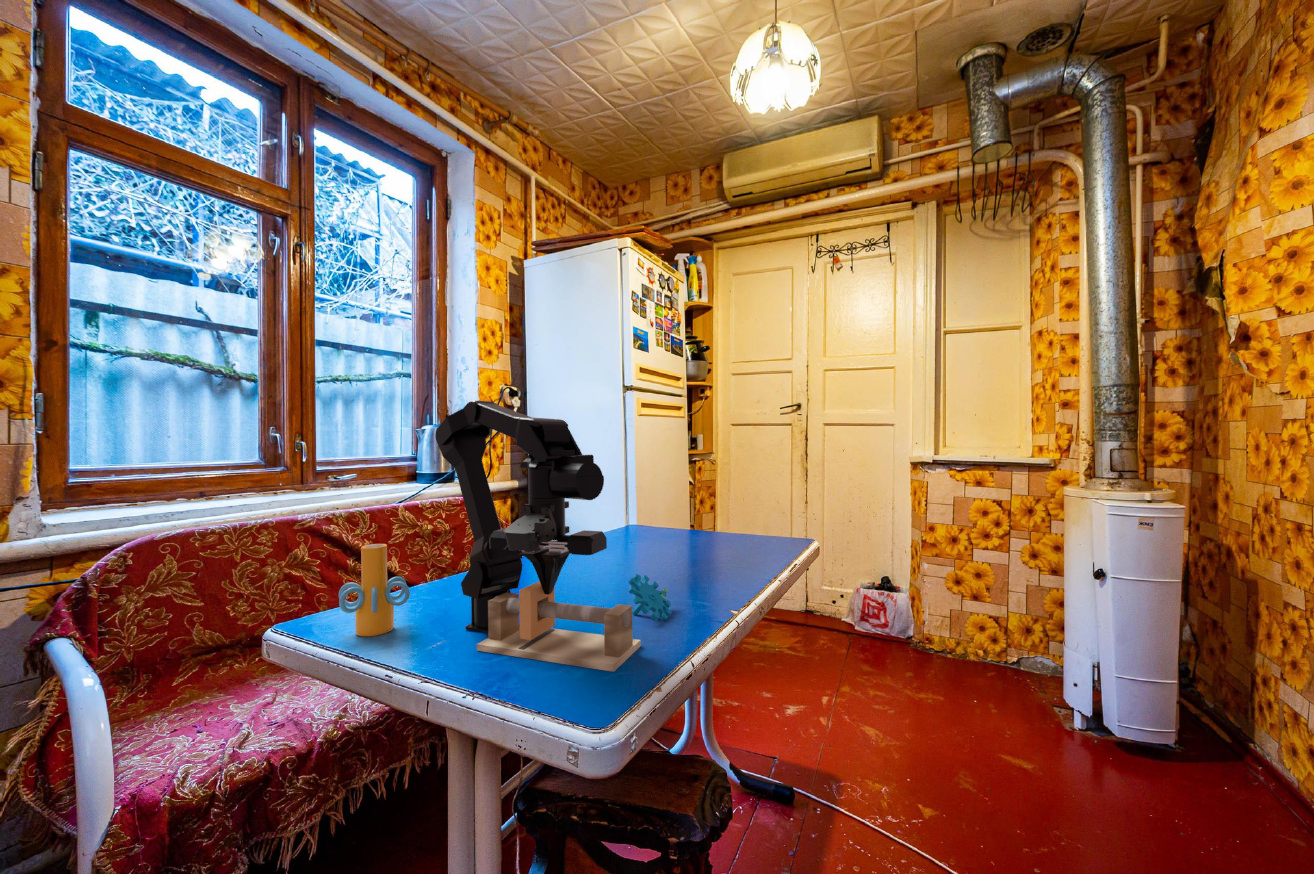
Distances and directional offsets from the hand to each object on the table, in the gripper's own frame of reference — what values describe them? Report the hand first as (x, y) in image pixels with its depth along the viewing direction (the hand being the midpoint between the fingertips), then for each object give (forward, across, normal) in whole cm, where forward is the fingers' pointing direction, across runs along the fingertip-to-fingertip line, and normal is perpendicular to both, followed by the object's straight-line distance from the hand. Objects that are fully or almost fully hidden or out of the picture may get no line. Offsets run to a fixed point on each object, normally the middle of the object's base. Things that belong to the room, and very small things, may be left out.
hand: (548, 593), depth 86 cm
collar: (+6, -2, 0) cm, 7 cm away
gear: (+9, +10, +19) cm, 23 cm away
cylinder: (+9, -33, -4) cm, 34 cm away
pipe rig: (+8, +2, 0) cm, 9 cm away
